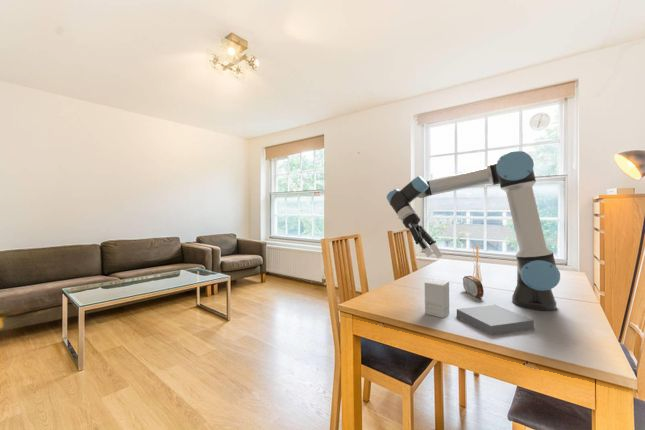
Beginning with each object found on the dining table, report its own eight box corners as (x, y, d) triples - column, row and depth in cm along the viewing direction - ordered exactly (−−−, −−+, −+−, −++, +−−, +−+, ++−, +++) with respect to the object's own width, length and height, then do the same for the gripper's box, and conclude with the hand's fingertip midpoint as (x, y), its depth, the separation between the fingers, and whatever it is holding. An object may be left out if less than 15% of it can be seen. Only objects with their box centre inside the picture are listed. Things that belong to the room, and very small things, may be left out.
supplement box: (449, 313, 111) (449, 281, 111) (443, 318, 106) (443, 285, 105) (431, 308, 116) (431, 278, 116) (424, 313, 111) (424, 282, 111)
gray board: (495, 312, 112) (495, 304, 111) (534, 328, 96) (534, 320, 96) (456, 316, 107) (456, 308, 107) (490, 334, 92) (490, 325, 92)
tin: (484, 300, 126) (484, 281, 126) (477, 300, 126) (477, 281, 126) (468, 290, 141) (468, 273, 141) (461, 290, 141) (461, 273, 141)
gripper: (412, 225, 142) (437, 261, 132) (391, 218, 123) (418, 259, 113) (424, 216, 139) (451, 252, 129) (404, 208, 120) (433, 249, 110)
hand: (435, 255), depth 121 cm, fingers open, 13 cm apart
